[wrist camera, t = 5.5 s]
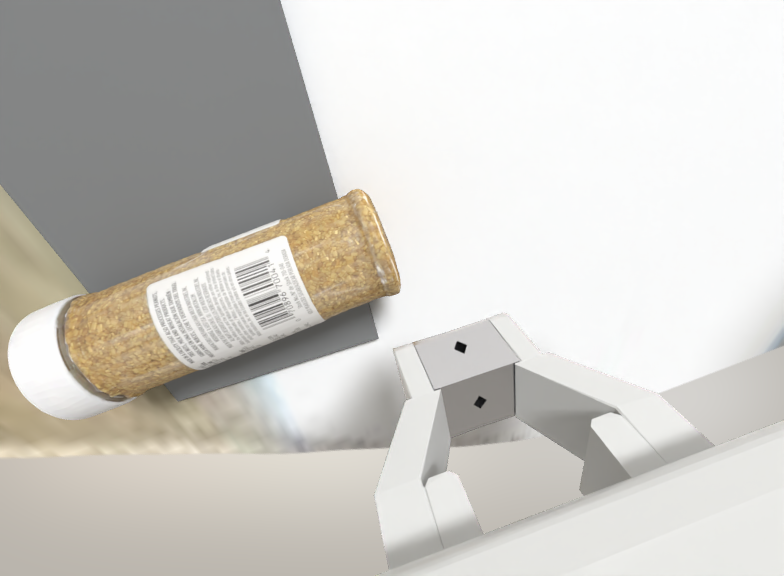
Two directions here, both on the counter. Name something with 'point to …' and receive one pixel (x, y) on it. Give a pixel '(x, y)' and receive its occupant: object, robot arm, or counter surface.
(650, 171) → the counter surface
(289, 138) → the mat
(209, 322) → the sprinkles bottle
